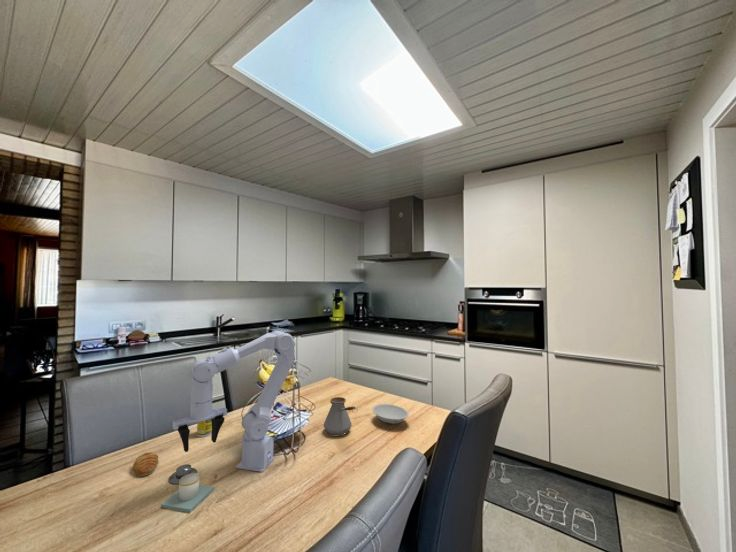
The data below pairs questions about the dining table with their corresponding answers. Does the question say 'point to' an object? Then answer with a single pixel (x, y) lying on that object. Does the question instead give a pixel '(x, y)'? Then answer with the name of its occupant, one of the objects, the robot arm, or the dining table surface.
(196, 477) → the can
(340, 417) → the coffee pot
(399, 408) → the dish
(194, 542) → the dining table surface
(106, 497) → the dining table surface
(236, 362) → the robot arm
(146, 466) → the pastry
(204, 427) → the supplement bottle
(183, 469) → the grey round lid
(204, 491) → the coaster
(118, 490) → the dining table surface
